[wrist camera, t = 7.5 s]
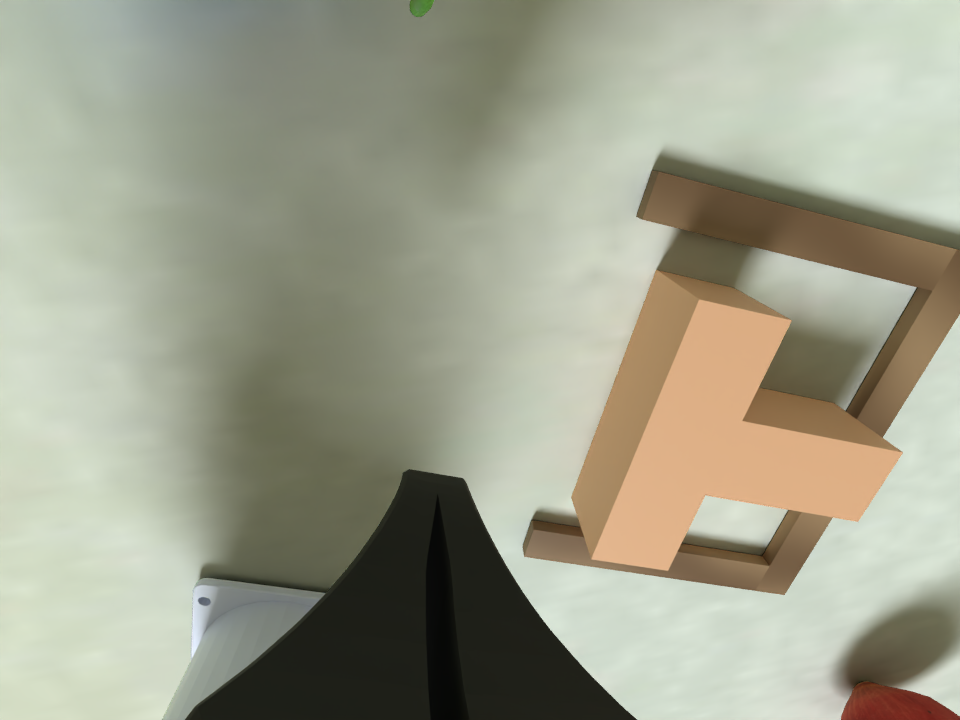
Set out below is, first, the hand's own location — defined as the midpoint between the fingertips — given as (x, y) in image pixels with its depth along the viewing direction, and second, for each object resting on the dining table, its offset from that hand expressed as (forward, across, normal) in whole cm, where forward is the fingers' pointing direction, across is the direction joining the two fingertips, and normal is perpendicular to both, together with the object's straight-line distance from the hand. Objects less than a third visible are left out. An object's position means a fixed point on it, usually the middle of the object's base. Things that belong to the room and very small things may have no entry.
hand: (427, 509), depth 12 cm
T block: (+8, -11, 0) cm, 14 cm away
